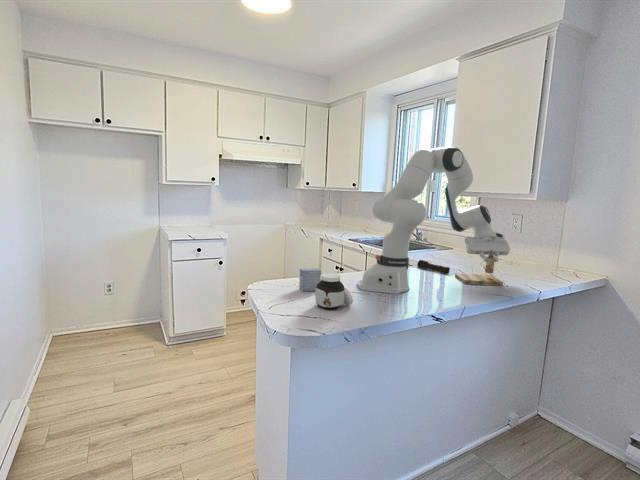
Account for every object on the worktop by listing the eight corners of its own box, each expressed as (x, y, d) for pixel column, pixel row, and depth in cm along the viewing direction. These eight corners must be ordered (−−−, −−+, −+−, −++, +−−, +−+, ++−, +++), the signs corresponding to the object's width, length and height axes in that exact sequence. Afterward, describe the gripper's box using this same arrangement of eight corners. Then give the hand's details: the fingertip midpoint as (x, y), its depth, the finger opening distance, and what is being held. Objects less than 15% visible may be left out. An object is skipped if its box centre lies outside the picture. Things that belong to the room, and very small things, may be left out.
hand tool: (449, 274, 190) (450, 265, 189) (445, 275, 188) (446, 266, 187) (420, 266, 205) (421, 258, 204) (415, 267, 203) (416, 259, 202)
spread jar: (311, 306, 130) (313, 275, 129) (328, 299, 140) (330, 269, 138) (340, 314, 124) (342, 281, 122) (356, 305, 133) (358, 275, 131)
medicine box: (316, 287, 154) (317, 267, 153) (320, 290, 150) (321, 270, 149) (298, 288, 151) (299, 268, 150) (302, 292, 147) (303, 271, 146)
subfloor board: (464, 283, 171) (464, 279, 170) (454, 276, 184) (455, 273, 183) (502, 285, 170) (503, 281, 170) (490, 278, 183) (491, 274, 183)
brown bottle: (487, 273, 175) (489, 250, 173) (483, 271, 178) (486, 249, 176) (494, 273, 174) (497, 251, 173) (491, 271, 178) (493, 249, 176)
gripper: (466, 233, 181) (471, 256, 172) (507, 235, 180) (515, 258, 172) (462, 240, 186) (467, 263, 177) (502, 242, 185) (509, 265, 177)
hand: (491, 261), depth 175 cm, fingers closed on brown bottle, 4 cm apart
